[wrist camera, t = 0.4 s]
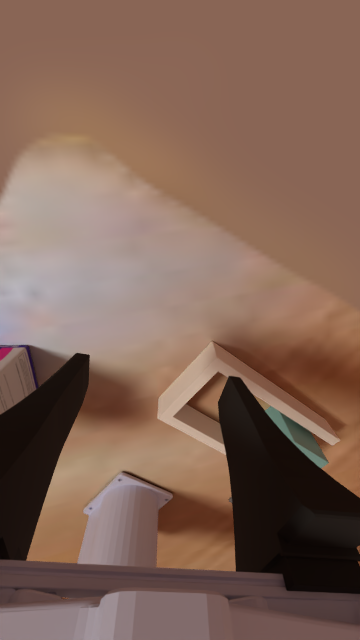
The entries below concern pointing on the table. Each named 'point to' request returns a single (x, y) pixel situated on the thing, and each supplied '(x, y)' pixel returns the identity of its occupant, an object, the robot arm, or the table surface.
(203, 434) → the frame
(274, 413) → the block
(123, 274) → the table surface
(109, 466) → the table surface
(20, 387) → the supplement box
